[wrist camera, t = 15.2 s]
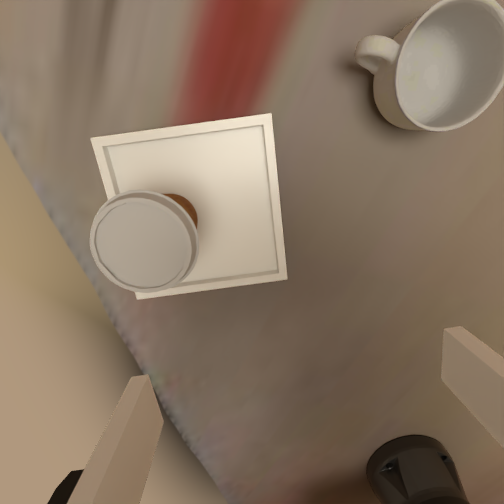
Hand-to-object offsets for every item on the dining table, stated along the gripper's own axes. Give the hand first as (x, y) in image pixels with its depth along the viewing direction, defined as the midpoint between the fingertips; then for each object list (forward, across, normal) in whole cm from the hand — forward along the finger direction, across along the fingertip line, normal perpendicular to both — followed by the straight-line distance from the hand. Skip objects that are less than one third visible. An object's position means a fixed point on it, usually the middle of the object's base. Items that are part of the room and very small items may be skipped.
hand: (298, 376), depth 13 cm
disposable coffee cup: (+26, +11, -4) cm, 28 cm away
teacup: (+27, -18, -16) cm, 36 cm away
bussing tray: (+27, +7, -4) cm, 28 cm away
